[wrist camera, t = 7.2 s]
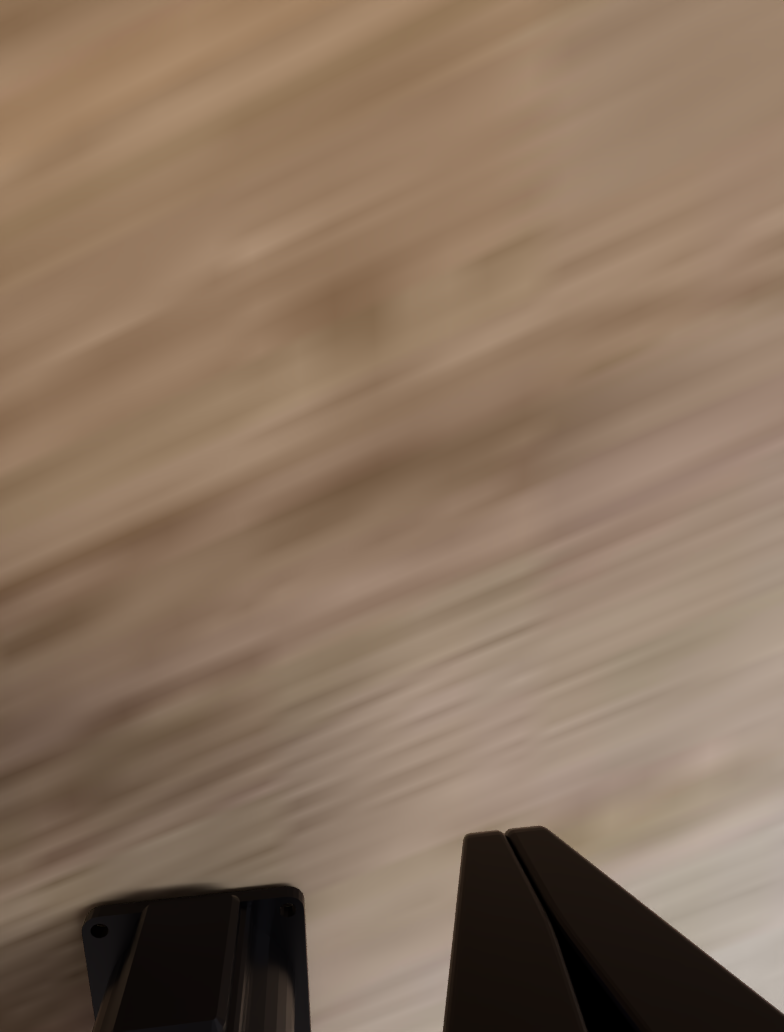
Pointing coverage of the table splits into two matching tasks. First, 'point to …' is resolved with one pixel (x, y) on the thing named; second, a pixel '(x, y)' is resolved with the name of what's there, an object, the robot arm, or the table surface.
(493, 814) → the table surface
